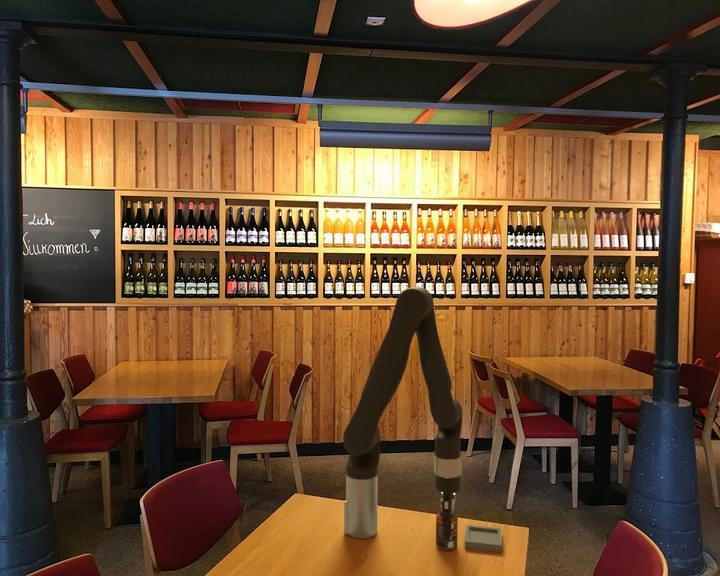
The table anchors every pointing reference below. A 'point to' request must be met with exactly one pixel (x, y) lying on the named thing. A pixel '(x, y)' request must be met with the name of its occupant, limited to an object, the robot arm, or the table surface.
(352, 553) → the table surface
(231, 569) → the table surface
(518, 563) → the table surface
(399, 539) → the table surface
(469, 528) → the gray square tray
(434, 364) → the robot arm
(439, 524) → the supplement bottle
